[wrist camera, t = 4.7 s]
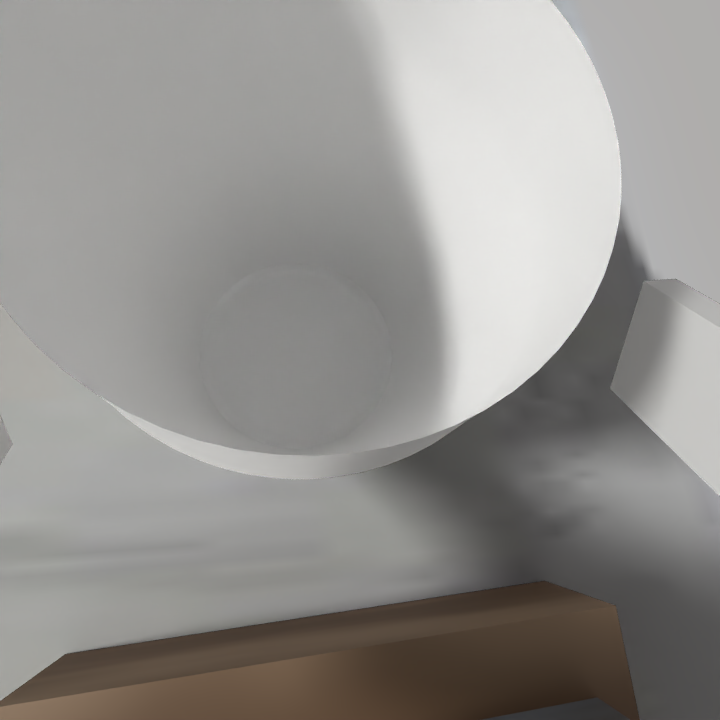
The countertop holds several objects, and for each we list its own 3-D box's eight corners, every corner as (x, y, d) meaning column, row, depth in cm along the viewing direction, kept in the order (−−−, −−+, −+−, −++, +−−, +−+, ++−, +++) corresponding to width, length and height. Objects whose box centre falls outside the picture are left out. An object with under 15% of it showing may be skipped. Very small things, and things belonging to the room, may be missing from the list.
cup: (158, 242, 19) (-50, -156, 7) (404, 229, 20) (559, -122, 9) (169, 502, 17) (-98, 526, 5) (442, 468, 18) (710, 427, 7)
